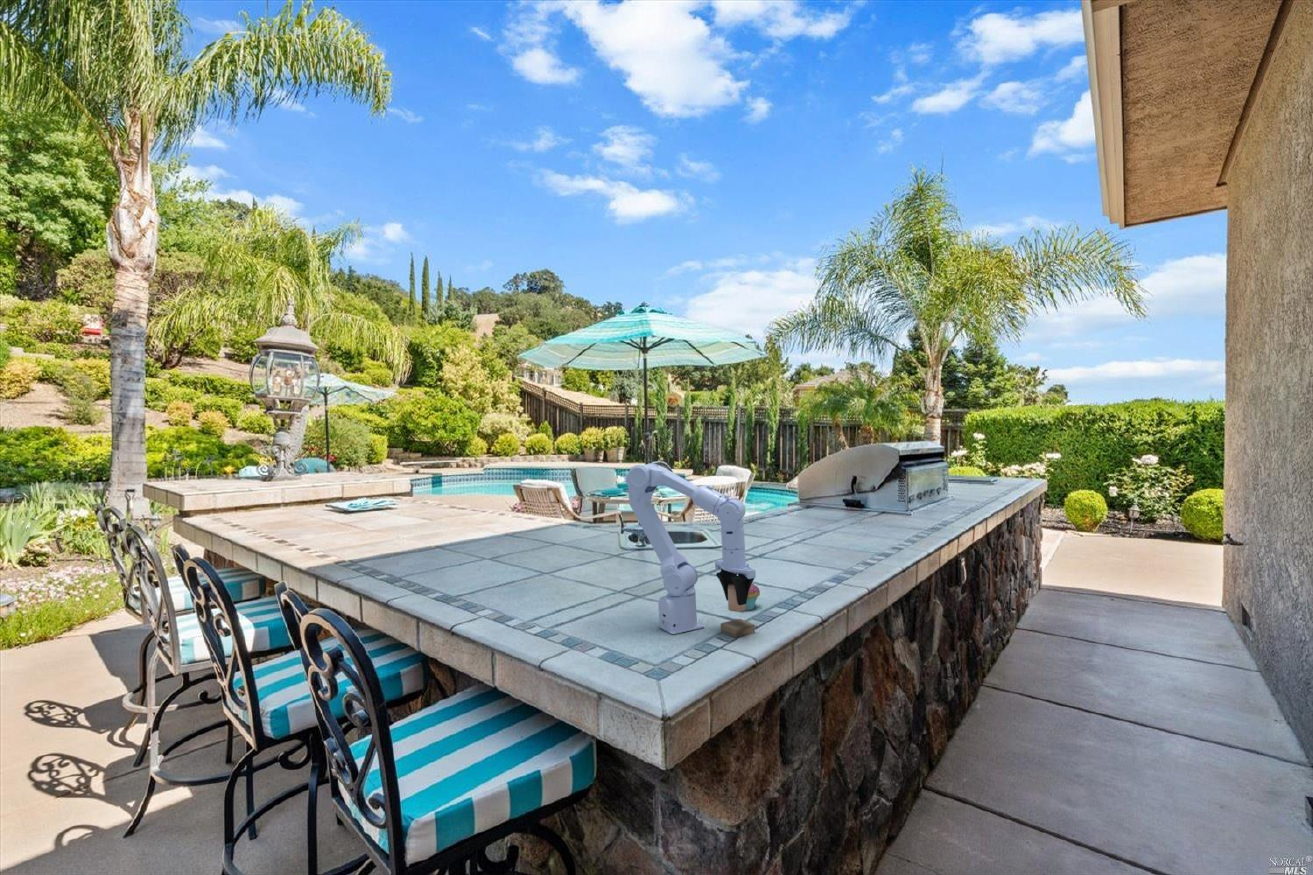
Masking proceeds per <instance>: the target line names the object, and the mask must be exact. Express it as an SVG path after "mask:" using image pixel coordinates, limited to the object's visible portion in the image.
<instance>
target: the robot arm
mask: <svg viewBox="0 0 1313 875" xmlns="http://www.w3.org/2000/svg"><path fill="white" fill-rule="evenodd" d="M625 483H626V485H627V489H628V492H627V493H628V503H629V506H630V507H631V509H632V512H633V513H634V516H635V517H636V519H637V521H638V522H639V525H640V526H641V529H642V530H643V532H644V533H645V536H646V537H647V539H648V541H649V544H650V545H651V547H652V549H653V550H654V552H655V554H656V556H657V558H658V560H659V561H660V572H659V573H660V574H661V576H662V579H663V586H664V588H665V590H666V592H667V593H666V594H665V595H663V596H660V598H659V599H658V622H659V624H658V625H657V626H658V628H660V629H662V630H664V631H665V632H667V633H669V634H671V635H677V634H681V633H682V634H683V633H685V632H690V631H693V630H698V629H699V630H700V629H702V628H704V627H705V626H704V624H702V623H699V621H698V616H697V615H698V613H697V597H696V596H697V595H696V588H695V585H696V584H697V582H698V579H699V575H698V570H697V568H696V567H695V566H694V565H692V564H691V563H690V562H689V560H688V559H687V557H686V556H684V555H683V554H681V553H679V552H680V551H678V549H677V547H676V546H675V544H674V542H673V540H672V538H671V536H670V535H669V532H668V530H667V529H666V527H665V525H664V523H663V522H662V519H661V518H660V516H659V514H658V512H657V511H656V508H655V507H654V504H653V503H652V498H653V495H654V493H655V491H656V489H657V488H658V487H661V486H662V487H663V486H665V487H667V488H669V489H672V490H674V491H676V492H678V493H679V494H682V495H684V496H686V497H688V498H690V499H691V500H692V503H693V505H694V506H695V507H698V508H699V509H701V510H704V511H705V512H707V513H708V514H711V515H713V516H715V517H717V519H718V521H719V522H720V533H721V534H720V535H721V552H722V553H721V554H722V556H721V558H722V560H716V561H714V566H715V567H714V569H715V570H720V571H718V572H716V574H715V575H716V577H717V579H718V580H719V583H720V584H721V588H722V590H723V594H724V596H725V599H726V601H727V602H728V585H729V584H732V583H733V584H734V586H735V590H736V597H737V602H738V605H744V604H746V603H747V597H748V593H749V589H750V586H751V584H753V582H754V580H755V579H756V578H757V577H756V575H757V574H756V569H754V568H752V567H750V563H748V562H746V560H747V559H746V544H745V541H746V539H745V528H744V519H743V518H744V517H745V515H746V506H745V504H744V503H743V502H742V501H741V500H740V499H738V498H736V497H732V498H730V496H731V495H729V494H727V493H726V494H722V493H721V492H719V491H717V490H715V489H714V486H712V485H710V484H708V485H705V484H704V485H699V486H697V485H695V484H694V483H691V482H690V481H688V480H686V479H684V478H683V477H682V476H679V475H678V474H676V473H674V472H672V471H671V470H669V469H668V468H666V467H664V466H659V465H658V464H656V463H653V462H652V463H647V464H642V465H641V464H636V465H633V466H632V467H630V469H629V471H628V473H627V476H626V478H625Z"/></svg>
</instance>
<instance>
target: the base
mask: <svg viewBox="0 0 1313 875" xmlns="http://www.w3.org/2000/svg"><path fill="white" fill-rule="evenodd" d="M720 632H722V633H724V634H726V635H729V636H731V637H733V638H734V639H735V638H740V637H743V636H748V635H752V634H754V633H756V630H755V623H754V624H753V623H751V622H749V621H747V620H744V619H741V618H737V619H734V620H733V619H732V620H729V621H724V622H720Z"/></svg>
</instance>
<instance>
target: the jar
mask: <svg viewBox="0 0 1313 875" xmlns="http://www.w3.org/2000/svg"><path fill="white" fill-rule="evenodd" d="M727 604H728V608H727V609H728V611H731V612H737V613H738V612H744V611H747V610H746V604H744V605H738V602H737V597H736V590H735V586H734V584H733V583H732V584H729V585H728V601H727Z"/></svg>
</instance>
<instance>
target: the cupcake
mask: <svg viewBox="0 0 1313 875" xmlns="http://www.w3.org/2000/svg"><path fill="white" fill-rule="evenodd" d="M760 593H761V592H760V588H759V587H758V586H757V585H755V584H754V583H752V584H751V586H750V589H749V593H748V597H747V603H746V610H745V611H751V610H753V609H755V605H756V602H757V599H758V598H759V596H761V594H760Z"/></svg>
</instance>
